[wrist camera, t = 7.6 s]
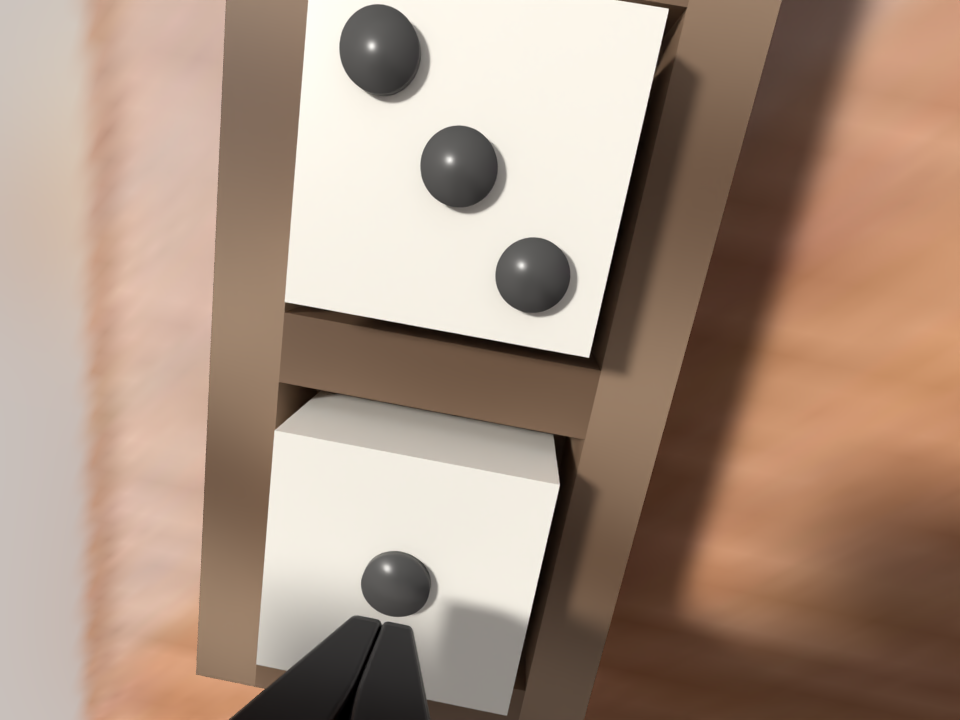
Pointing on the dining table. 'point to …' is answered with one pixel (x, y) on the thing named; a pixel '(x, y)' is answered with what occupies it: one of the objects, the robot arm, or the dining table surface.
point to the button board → (468, 342)
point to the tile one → (408, 538)
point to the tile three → (468, 161)
